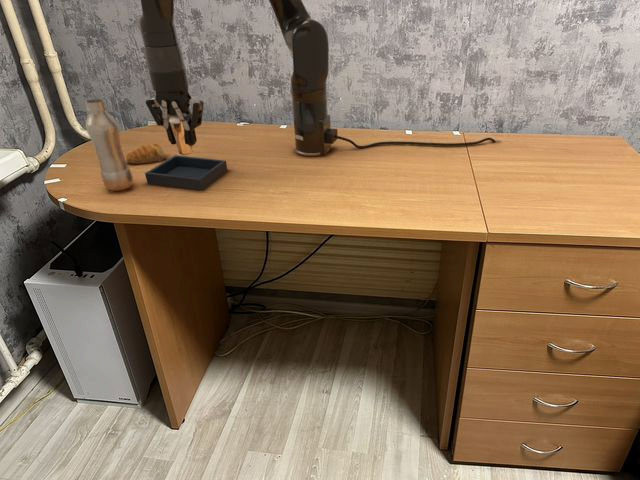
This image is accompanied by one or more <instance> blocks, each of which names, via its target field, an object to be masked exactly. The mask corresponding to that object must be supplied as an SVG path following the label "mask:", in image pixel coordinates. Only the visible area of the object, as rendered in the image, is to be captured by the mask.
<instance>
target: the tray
mask: <svg viewBox="0 0 640 480" xmlns="http://www.w3.org/2000/svg"><path fill="white" fill-rule="evenodd" d="M228 171H229V170H228V165H227V160H224V159H213V158H205V157H195V156H188V155H176V154H175V155H173V156H172V157H169V158H167V159H166V160H165V161H163V162H161V163H160V164H158V165H155V167H153V168H151V169H150V170H148V171H146V172H145V173H144V175H145V179H146V182H147V185H151V186H158V187H159V186H160V187H167V188H175V189H184V190H193V191H199V192H200V191H201V192H203V191H204V190H205V189H206V188H208V187H209V186H210V185H212V184H213V183H214V182H215V181H217V180H219V179H220V178H221V177H222V176H223V175H225V174H226V173H228Z"/></svg>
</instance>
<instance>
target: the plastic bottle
mask: <svg viewBox="0 0 640 480" xmlns="http://www.w3.org/2000/svg"><path fill="white" fill-rule="evenodd" d="M85 107H86V111H87V112H88V115H87V117H86V121H85V130H86V133H87V134H88V136H89V139H90V141H91V142H92V145H93V148H94V150H95V153H96V156H97V159H98V164H99V168H100V176H101V181H102V183H103V185H104V187H105V188H106V189H108V190H109V191H124V190H126V189H129V188H131V187H132V185H133V183H134V178H133V176H134V175H133V173H132V171H131V169H130V167H129V166H128V162H127V159H126V158H125V155H124V151H123V148H122V144H121V137H120V129H119V125H118V121H116V119H115V118H114V117H113V116H112V115H111V114H109V112H108V111H107V106H106V103H105V100H104V99H102V98H92V99H88V100H86V101H85Z"/></svg>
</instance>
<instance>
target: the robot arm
mask: <svg viewBox="0 0 640 480" xmlns="http://www.w3.org/2000/svg"><path fill="white" fill-rule="evenodd" d="M268 2H269V4H270V6H271V8H272V11H273V13H274V15H275V18H276V20H277V22H278V26H279V29H280V32H281V34H282V37H283V40H284V42H285V45H286V47H287V49H288V50H289V51H290V52H291V53H292V74H291V75H290V88H291V102H292V105H291V106H292V117H293V132H294V147H295V149H294V151H295V153H296V154H297V155H300V156H304V157H318V156H322V157H323V156H324V157H325V156H326V155H327V154H328V153H329V152H330V151H331V150H332V145H334V143H335V142H336V141H337V140H340V141H345V142H348V143H350V144H351V145H352V146H354V147H355V148H357V149H368V148H372V147H374V146H382V145H413V146H414V145H415V146H435V147H460V146H461V147H462V146H463V147H464V146H474V145H479V144H482V143H484V142H486V141H490V142H492V143H494V144H495V143H497V141H496V140H495V139H494V138H492V137H484V138H483V139H481V140H477V141H470V142H450V143H449V142H422V141H420V142H419V141H395V140H394V141H391V140H390V141H377V142H373V143H370V144H367V145H358V144H356V142H354V141H353V140H351V139H349V138H347V137H344V136H339V135H338V133H339V132H338V128H331V115H330V114H328V113H329V112H328V88H327V86H328V85H327V82H328V81H327V80H328V77H329V71H330V70H329V68H330V66H329V64H330V63H329V61H330V58H329V57H330V56H329V55H330V51H329V49H330V48H329V47H330V46H329V37H328V33H327V30H326V28H325V27H324V25H323V24H322V23H321V22H320V21H318V20H316V19H314V18H312V17H311V16H310V13H309V12H308V11H307V9H306V7H305V4H304V2H303V1H302V0H268ZM140 6H141V12H142V14H141V15H140V16H139V18H138V24H139V25H138V26H139V30H140V35H141V39H142V43H143V47H144V55H145V60H146V61H145V62H146V65H147V69H148V73H149V78H150V82H151V86H152V90H153V91H154V92H155V95H154V97H151V98H149V99H146V100H145V105H146V107H147V108H148V110H149V113H150V114H151V116H152V118H153V120H154V122H155V124H156V125H157V126H158V127H163V128H164V129H165V131H166V135H167V139H168V141H169V142H170V145H173V146H175V145H176V142H175V138H174V135H173V132H172V129H171V126H170V123H169V117H170V116H171V115H177V116H178V117H179V114H181V117H180V121H182V123H183V125H184V127H185V129H186V131H185V133H186V138H187V142H188V145H189V146H192V147H193V146H194V145H195V144H196V143H197V141H198V139H197V134H196V129H197V128H198V127H200V126H201V125H202V121H203V113H204V102H203V100H195V99H193V98H192V96H191V94H190V92H189V81H188V77H187V71H186V66H185V61H184V56H183V52H182V50H181V47H180V44H179V38H178V33H177V28H176V24H175V0H140ZM191 111H192V112H191ZM183 114H185V116H184V115H183ZM187 119H189V123H188V121H187Z"/></svg>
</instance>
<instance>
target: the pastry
mask: <svg viewBox="0 0 640 480" xmlns="http://www.w3.org/2000/svg"><path fill="white" fill-rule="evenodd" d="M165 159H166V155H165V152H164V150H163V148H162V146H161V144H160V143H159V142H154V143H153V144H146V145H142V146H140V147H138V148H136V149H133V150H132V151H130V152H128V153H127V154H126V158H125V160H126V162H127V163H130V164H134V165H137V164H138V165H141V164H150V163H155V162H162V161H164V160H165Z"/></svg>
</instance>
